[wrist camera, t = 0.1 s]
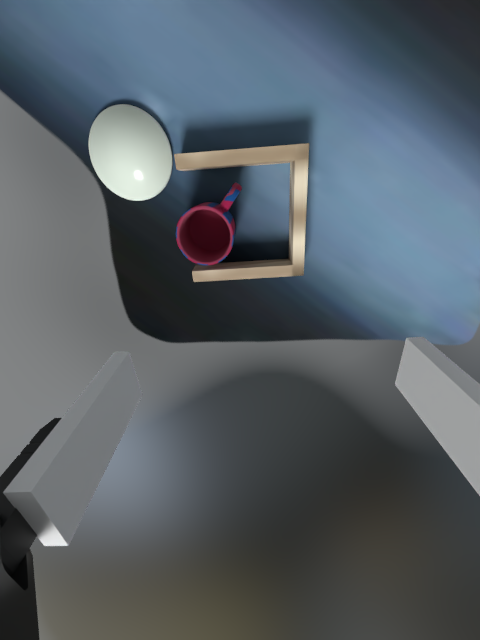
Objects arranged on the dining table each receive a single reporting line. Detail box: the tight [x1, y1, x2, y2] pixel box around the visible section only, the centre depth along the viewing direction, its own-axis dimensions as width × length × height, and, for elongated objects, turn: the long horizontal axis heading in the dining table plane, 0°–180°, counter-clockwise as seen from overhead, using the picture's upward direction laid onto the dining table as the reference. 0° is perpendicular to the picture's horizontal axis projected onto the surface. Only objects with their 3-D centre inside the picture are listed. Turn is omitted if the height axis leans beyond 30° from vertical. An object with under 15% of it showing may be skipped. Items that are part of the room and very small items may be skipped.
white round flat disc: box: [89, 104, 173, 201], centre depth 33 cm, size 10×10×1 cm
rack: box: [174, 143, 309, 282], centre depth 34 cm, size 15×15×4 cm
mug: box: [176, 183, 242, 265], centre depth 33 cm, size 7×10×7 cm
